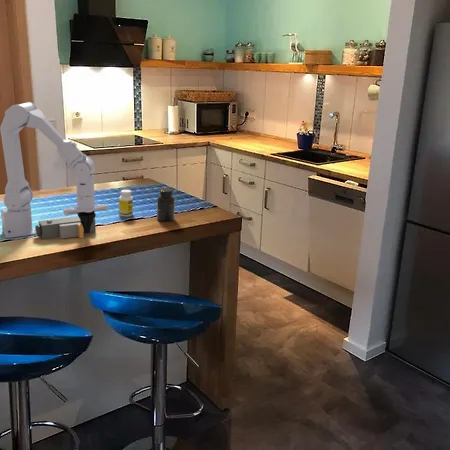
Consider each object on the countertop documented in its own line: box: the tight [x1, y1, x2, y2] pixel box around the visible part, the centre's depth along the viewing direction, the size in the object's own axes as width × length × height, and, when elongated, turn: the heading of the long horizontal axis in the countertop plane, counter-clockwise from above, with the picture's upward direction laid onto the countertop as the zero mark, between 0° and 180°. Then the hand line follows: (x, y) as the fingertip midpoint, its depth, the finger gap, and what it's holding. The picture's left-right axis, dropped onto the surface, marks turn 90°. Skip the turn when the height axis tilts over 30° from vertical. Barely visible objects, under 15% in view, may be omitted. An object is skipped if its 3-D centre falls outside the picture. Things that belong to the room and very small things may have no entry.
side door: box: [59, 222, 84, 239], centre depth 169 cm, size 7×4×4 cm, turn 122°
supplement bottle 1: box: [118, 189, 134, 218], centre depth 195 cm, size 5×5×10 cm
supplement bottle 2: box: [156, 187, 176, 223], centre depth 192 cm, size 7×7×12 cm
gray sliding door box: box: [34, 215, 97, 241], centre depth 172 cm, size 19×5×6 cm, turn 122°
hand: (86, 232), depth 171 cm, fingers closed
